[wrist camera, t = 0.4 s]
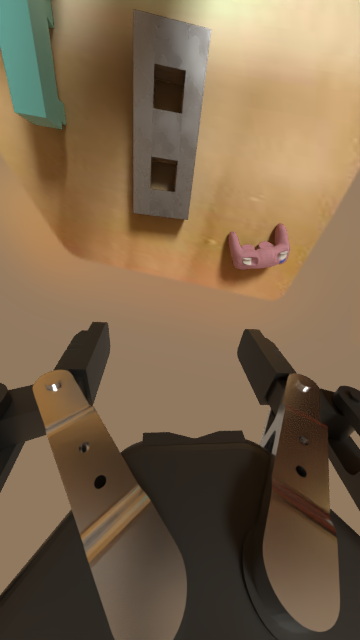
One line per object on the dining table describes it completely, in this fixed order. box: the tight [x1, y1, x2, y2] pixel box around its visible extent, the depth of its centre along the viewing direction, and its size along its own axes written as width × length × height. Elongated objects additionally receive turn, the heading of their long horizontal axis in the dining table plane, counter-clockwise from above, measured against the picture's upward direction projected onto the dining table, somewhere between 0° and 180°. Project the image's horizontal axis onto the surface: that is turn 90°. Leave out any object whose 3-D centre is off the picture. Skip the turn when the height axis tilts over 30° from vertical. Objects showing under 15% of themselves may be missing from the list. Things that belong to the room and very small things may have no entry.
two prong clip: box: [0, 0, 66, 129], centre depth 21 cm, size 12×3×7 cm, turn 173°
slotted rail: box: [133, 9, 211, 220], centre depth 26 cm, size 18×8×4 cm, turn 173°
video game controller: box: [229, 223, 290, 270], centre depth 34 cm, size 10×5×7 cm, turn 98°
